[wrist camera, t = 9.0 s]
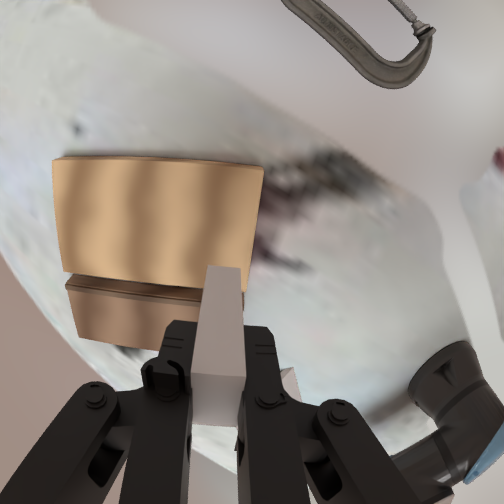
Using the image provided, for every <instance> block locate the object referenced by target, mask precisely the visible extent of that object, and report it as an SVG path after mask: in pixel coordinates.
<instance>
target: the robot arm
mask: <svg viewBox="0 0 504 504" xmlns="http://www.w3.org/2000/svg"><path fill="white" fill-rule="evenodd" d="M141 375H142V380H143V387H141V388H139V389H136V390H131V391H118V392H115V391H114V389H113V388H112V387H111V386H109V385H108V384H106V383H103V382H98V381H97V382H89V383H86V384H83V385H82V386H81V387H80V388H79V389H78V390H77V391H76V392H75V393H74V394H73V396H72V397H71V398H70V399H69V401H68V402H67V403H66V404H65V406H64V407H63V408H62V410H61V411H60V412H59V413H58V415H57V416H56V417H55V419H54V420H53V421H52V423H51V424H50V425H49V426H48V428H47V429H46V430H45V432H44V433H43V434H42V436H41V437H40V438H39V440H38V441H37V442H36V444H35V445H34V446H33V448H32V449H31V450H30V452H29V453H28V454H27V456H26V457H25V459H24V460H23V461H22V463H21V464H20V466H19V467H18V468H17V470H16V471H15V473H14V474H13V475H12V477H11V478H10V480H9V481H8V483H7V484H6V486H5V487H4V489H3V490H2V492H1V493H0V504H102V503H103V502H104V500H105V498H106V496H107V494H108V492H109V490H110V488H111V487H112V485H113V483H114V481H115V479H116V477H117V476H118V474H119V472H120V470H121V468H122V466H123V465H124V463H125V461H126V459H127V463H126V467H125V472H124V478H123V483H122V488H121V493H120V499H119V504H187V503H188V484H189V467H190V454H191V442H192V433H191V430H192V424H199V425H211V426H226V427H237V423H238V436H237V441H236V445H235V450H234V451H237V475H238V501H239V504H311V503H310V498H309V492H308V486H309V488H310V490H311V492H312V494H313V496H314V498H315V500H316V502H317V503H318V504H451V502H452V499H453V497H454V493H453V491H452V486H454V485H455V484H457V483H458V482H460V481H462V480H463V483H465V484H469V483H471V482H472V481H474V480H475V479H476V478H477V477H479V476H480V475H481V474H482V473H484V472H485V471H486V470H487V469H488V468H489V467H490V466H491V465H492V464H493V463H494V462H496V461H497V460H498V459H499V458H500V457H501V456H502V455H503V454H504V406H503V404H502V403H501V401H500V400H499V398H498V397H497V395H496V394H495V393H494V391H493V390H492V389H491V387H490V386H489V384H488V383H487V382H486V380H485V379H484V377H483V374H482V370H481V367H480V364H479V361H478V358H477V355H476V352H475V350H474V349H473V348H472V347H471V345H470V344H469V343H467V342H457V343H454V344H452V345H450V346H448V347H446V348H444V349H443V350H441V351H440V352H438V353H437V354H436V355H434V356H433V357H432V358H431V359H430V360H428V361H427V362H426V363H425V364H424V365H423V366H422V367H421V368H420V370H419V371H418V372H417V373H416V375H415V376H414V377H413V379H412V381H411V383H410V385H409V388H408V393H409V396H410V398H411V399H412V401H413V403H414V404H415V405H416V406H418V407H420V408H421V409H422V410H423V411H424V412H425V413H426V414H427V415H429V416H430V417H431V418H432V419H433V420H434V422H435V424H436V425H437V427H438V430H436V431H435V432H433V433H431V434H430V435H428V436H426V437H425V438H423V439H422V440H420V441H418V442H417V443H415V444H413V445H411V446H410V447H408V448H406V449H404V450H402V451H401V452H399V453H397V454H395V455H391V456H389V455H388V454H387V452H386V451H385V449H384V448H383V446H382V445H381V444H380V442H379V441H378V439H377V438H376V436H375V435H374V433H373V432H372V430H371V429H370V428H369V426H368V425H367V423H366V422H365V420H364V419H363V417H362V416H361V414H360V413H359V412H358V410H357V409H356V408H355V407H354V406H353V405H352V404H351V403H349V402H347V401H345V400H341V399H329V400H327V401H325V402H323V403H322V404H321V405H320V406H315V405H311V404H306V403H303V402H300V401H297V400H295V399H293V398H292V397H291V396H290V395H289V394H288V393H287V392H286V391H285V390H284V387H283V384H282V379H281V374H280V368H279V363H278V357H277V352H276V347H275V341H274V336H273V334H272V333H271V332H270V330H269V329H268V328H267V327H263V326H247V325H243V308H242V289H241V268H234V267H223V266H213V265H208V267H207V273H206V278H205V284H204V290H203V296H202V302H201V308H200V314H199V320H198V322H192V321H183V320H175V319H174V320H173V321H172V322H171V323H170V324H169V325H168V326H167V327H166V330H165V333H164V337H163V340H162V344H161V347H160V351H159V354H158V357H155V358H152V359H150V360H148V361H147V362H146V363H144V365H143V366H142V368H141ZM127 457H128V458H127ZM307 484H308V486H307Z"/></svg>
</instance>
